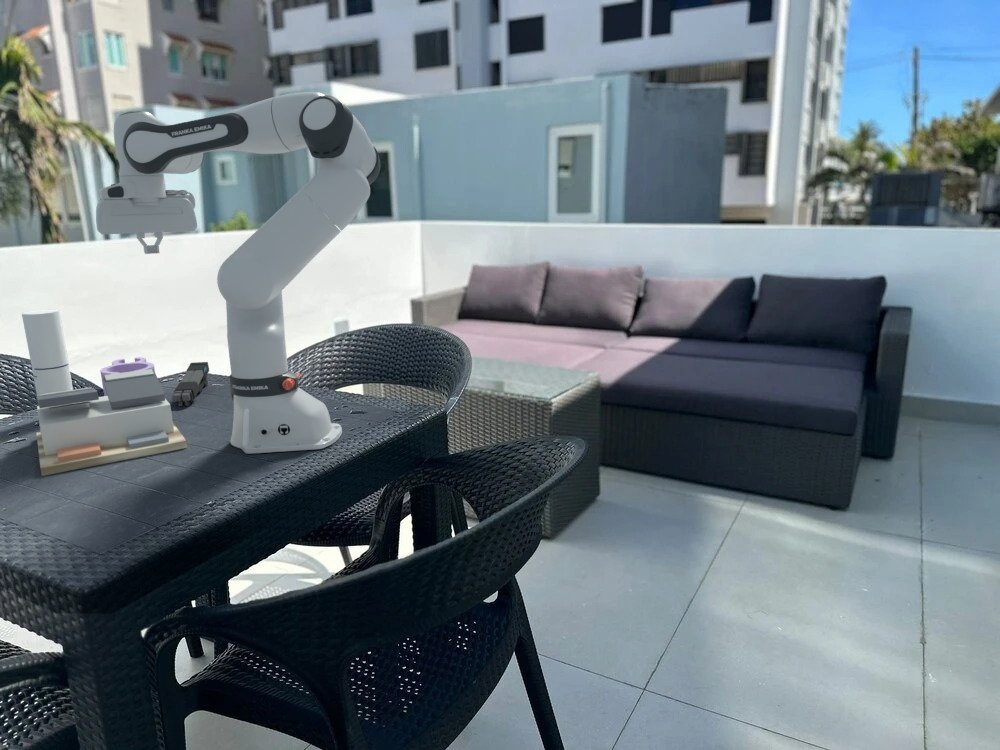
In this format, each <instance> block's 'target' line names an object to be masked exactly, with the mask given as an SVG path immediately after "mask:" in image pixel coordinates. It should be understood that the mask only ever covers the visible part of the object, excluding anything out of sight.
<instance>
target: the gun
mask: <svg viewBox="0 0 1000 750" xmlns="http://www.w3.org/2000/svg"><path fill="white" fill-rule="evenodd" d="M209 372H210V365H209V363H208V361H202V362H201V361H198V362H190V364H189V366H188V367H187V369H186V372H185V374H184V376H183V378H182V379H181V380H180V381H179V383H177V386H176V388H175V389H174V390H173V393H172V398H173V402H174V403H176V404H177V405H178V407H184V406H185V407H186V406H187V407H189V406H190V405H191V404H192V402H194V400H195V399H196V398H197V397H196V396H197V395H198V393H201V391H202V390H203V388H204V387H208V386H209V385H208V380H207V379H208V377H207V375H208V374H209Z"/></svg>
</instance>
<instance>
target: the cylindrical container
mask: <svg viewBox="0 0 1000 750" xmlns="http://www.w3.org/2000/svg"><path fill="white" fill-rule="evenodd" d="M21 317H22V322H23V327H24V328H23V329H24V332H25V339H26V343H27V349H28V354H29V359H30V365H31V369H32V375H33V381H34V386H35V391H36V393H35V394H36V398H37V399H38V396H40V394H47V393H55V392H62V391H69V390H74V387H73V382H72V375H71V370H70V365H69V358H68V352H67V347H66V346H67V345H66V340H65V335H64V330H63V329H64V328H63V324H62V317H61V311H60V309H56V308H55V309H53V308H52V309H51V308H49V309H47V308H46V309H36V310H29V311H24V312H21ZM37 403H38V405H39V402H38V401H37Z"/></svg>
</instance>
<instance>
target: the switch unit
mask: <svg viewBox="0 0 1000 750" xmlns="http://www.w3.org/2000/svg"><path fill="white" fill-rule="evenodd" d="M98 397H99V400H93V401H86V402H79V403H73V404H66V405H59V406H52V407H46V408H40V407H39V405H37V406H36V408H37V415H38V422H39V430H40V431H37V432H36V440H37V449H38V459H39V468H40V472H41V476H42V477H44V476H49V475H55V474H59V473H65V472H69V471H75V470H79V469H85V468H90V467H95V466H100V465H104V464H105V465H106V464H111V463H114V462H115V463H116V462H120V461H127V460H130V459H131V460H132V459H137V458H141V457H147V456H151V455H158V454H162V453H167V452H172V451H177V450H182V449H183V450H184V449H188V443H187V440H186V438H185V437H184V436H183V434H182V432H181V431H180V430H179V429H178V427H177V426H176V425H175V423H174V421H173V413H172V407H171V403H170V402H169V401H168V400H167V399H166V398H165V401H160V402H154V403H147V404H141V405H135V406H128V407H122V408H116V409H112V408H111V405H110V402H109V399H108V396H98Z"/></svg>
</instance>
